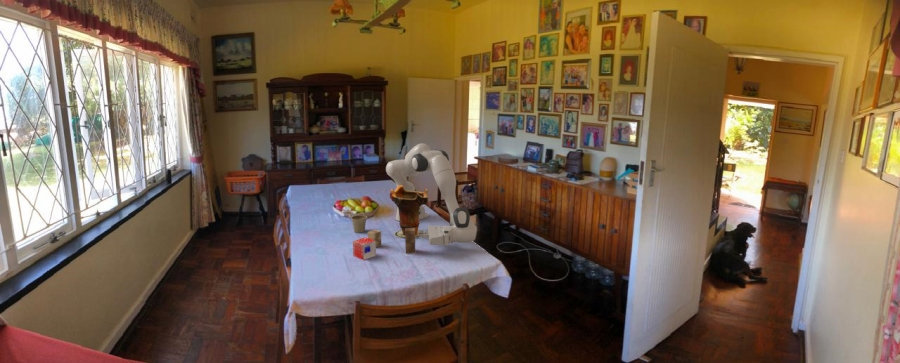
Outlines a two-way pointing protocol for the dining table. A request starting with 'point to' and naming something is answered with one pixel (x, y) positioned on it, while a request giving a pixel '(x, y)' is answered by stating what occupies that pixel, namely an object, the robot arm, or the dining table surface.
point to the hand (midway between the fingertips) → (419, 235)
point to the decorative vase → (408, 208)
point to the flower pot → (359, 223)
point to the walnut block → (410, 240)
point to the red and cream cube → (364, 248)
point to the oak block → (375, 237)
